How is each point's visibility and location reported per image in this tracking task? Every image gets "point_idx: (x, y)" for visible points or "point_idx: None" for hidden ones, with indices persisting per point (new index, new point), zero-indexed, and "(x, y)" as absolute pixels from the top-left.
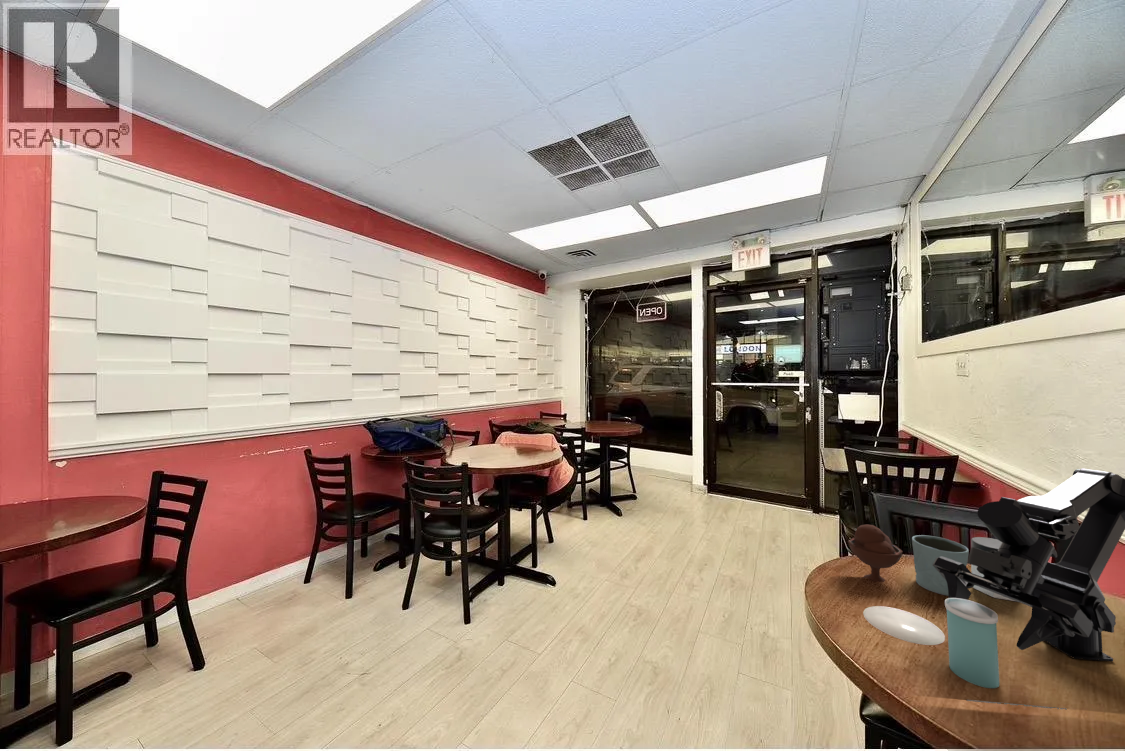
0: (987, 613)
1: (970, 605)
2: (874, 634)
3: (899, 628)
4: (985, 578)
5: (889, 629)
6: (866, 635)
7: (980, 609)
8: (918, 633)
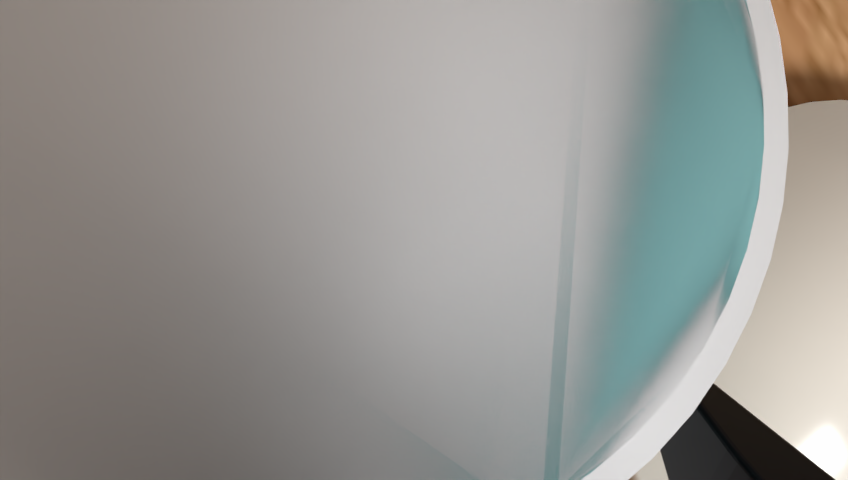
0: (39, 209)
1: (440, 235)
2: (815, 75)
3: (822, 276)
4: None
5: (824, 180)
6: (815, 5)
7: (240, 269)
8: (747, 362)
